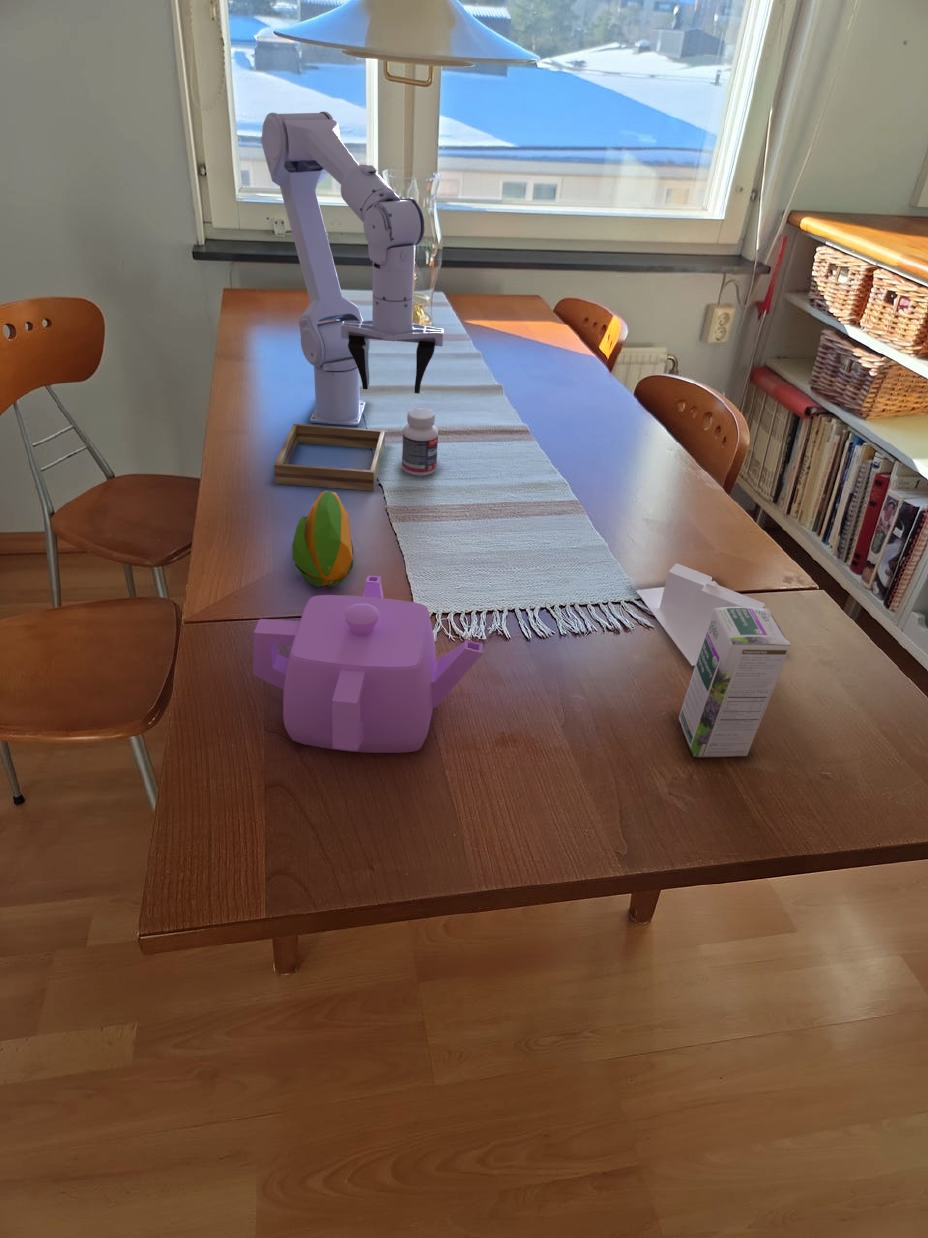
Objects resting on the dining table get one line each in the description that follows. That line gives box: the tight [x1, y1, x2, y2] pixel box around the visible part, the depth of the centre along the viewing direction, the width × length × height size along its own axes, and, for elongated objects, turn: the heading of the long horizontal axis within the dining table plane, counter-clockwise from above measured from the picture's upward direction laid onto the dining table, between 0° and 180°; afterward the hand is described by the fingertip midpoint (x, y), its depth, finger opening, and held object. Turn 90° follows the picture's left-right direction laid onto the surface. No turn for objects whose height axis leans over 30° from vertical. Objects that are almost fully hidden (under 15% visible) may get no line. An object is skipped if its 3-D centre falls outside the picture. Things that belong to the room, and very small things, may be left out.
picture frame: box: [273, 423, 386, 492], centre depth 126 cm, size 14×14×3 cm
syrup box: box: [678, 607, 792, 758], centre depth 81 cm, size 6×6×14 cm
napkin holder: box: [635, 562, 767, 667], centre depth 99 cm, size 15×11×6 cm
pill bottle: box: [401, 407, 439, 477], centre depth 125 cm, size 5×5×9 cm
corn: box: [291, 490, 354, 588], centre depth 105 cm, size 7×8×20 cm
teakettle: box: [252, 574, 484, 754], centre depth 82 cm, size 17×17×12 cm
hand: (391, 388), depth 126 cm, fingers open, 7 cm apart
